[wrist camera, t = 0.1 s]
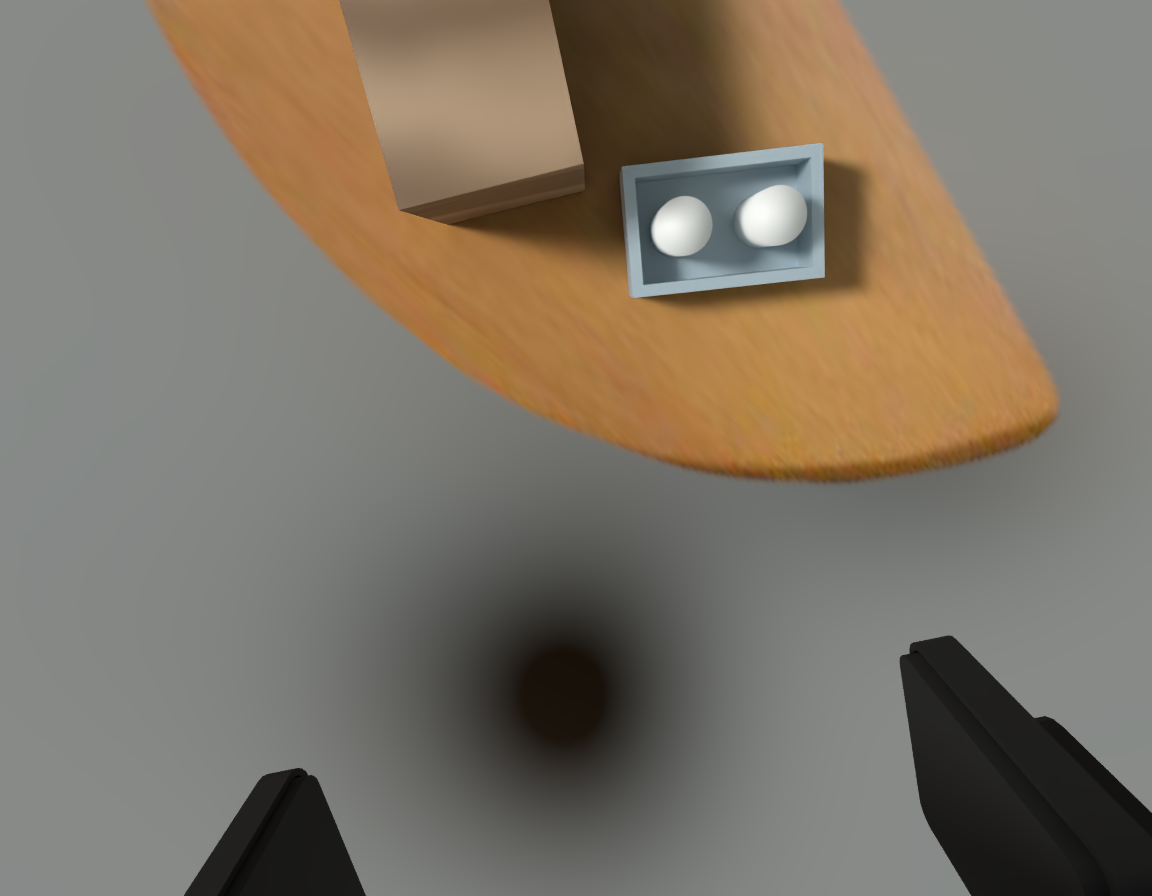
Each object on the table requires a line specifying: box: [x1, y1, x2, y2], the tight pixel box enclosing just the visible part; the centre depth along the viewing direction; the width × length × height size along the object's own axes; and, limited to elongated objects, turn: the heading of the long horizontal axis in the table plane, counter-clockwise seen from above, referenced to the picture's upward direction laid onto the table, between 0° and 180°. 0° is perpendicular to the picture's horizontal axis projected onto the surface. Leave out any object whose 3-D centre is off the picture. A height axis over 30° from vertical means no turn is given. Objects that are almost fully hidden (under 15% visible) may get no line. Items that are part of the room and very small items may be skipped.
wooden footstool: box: [339, 0, 586, 225], centre depth 31 cm, size 14×8×10 cm, turn 13°
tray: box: [619, 143, 825, 298], centre depth 35 cm, size 6×10×5 cm, turn 96°
